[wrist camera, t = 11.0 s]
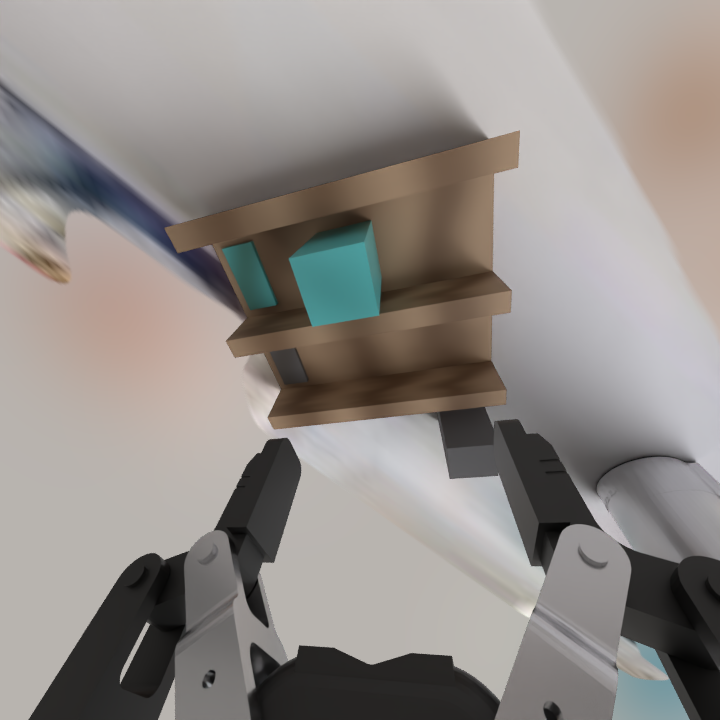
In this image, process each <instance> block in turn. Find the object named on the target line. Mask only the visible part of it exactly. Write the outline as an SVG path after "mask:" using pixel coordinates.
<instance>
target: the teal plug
mask: <svg viewBox="0 0 720 720" xmlns="http://www.w3.org/2000/svg"><path fill="white" fill-rule="evenodd" d="M289 261H290V264H291V267H292V270H293V273H294V276H295V278H296V281H297V284H298V287H299V290H300V293H301V296H302V299H303V301H304V304H305V307H306V310H307V313H308V316H309V319H310V322H311V325H312V327H315V326H321V325H327V324H333V323H338V322H344V321H350V320H356V319H362V318H368V317H373V316H379V312H380V296H381V279H382V276H381V270H380V265H379V259H378V254H377V249H376V243H375V238H374V232H373V227H372V222H371V220H370V221H365V222H361V223H357V224H353V225H348V226H344V227H340V228H336V229H331V230H327V231H323V232H319V233H316V234H315V235H314V236H313V237H312V238H311V239H309V240H308V241H307V242H306V243H305V244H304V245H303V246H302V247H301V248H300V249H299V250H297V251H296V252H295V253H294V254H293V255H292V256H291V257H290V258H289Z"/></svg>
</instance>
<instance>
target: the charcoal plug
mask: <svg viewBox="0 0 720 720" xmlns="http://www.w3.org/2000/svg"><path fill="white" fill-rule="evenodd" d="M438 421H439V426H440V431H441V436H442V441H443V446H444V451H445V457H446V462H447V467H448V472H449V477H450V479H455V478H470V477H486V476H498V469H497V466H496V463H495V458H494V449H493V448H494V429H493V427H492V424H491V422H490V419H489V417H488V414H487V412H486V409H485V407H478V408H469V409H459V410H450V411H441V412H438Z"/></svg>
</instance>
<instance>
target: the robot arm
mask: <svg viewBox="0 0 720 720" xmlns="http://www.w3.org/2000/svg"><path fill="white" fill-rule="evenodd" d="M493 449H494V458H495V463H496V466H497V469H498V472H499V475H500V478H501V481H502V484H503V486H504V489H505V492H506V495H507V498H508V501H509V504H510V507H511V509H512V512H513V515H514V518H515V521H516V524H517V527H518V530H519V532H520V535H521V538H522V541H523V544H524V547H525V550H526V553H527V555H528V558H529V561H530V564H531V566H542V567H543V569H544V572H545V575H546V577H545V580H544V583H543V586H542V589H541V592H540V595H539V598H538V600H537V603H536V606H535V608H534V610H533V612H532V614H531V617H530V620H529V622H528V625H527V628H526V631H525V634H524V637H523V640H522V643H521V645H520V648H519V651H518V654H517V657H516V660H515V663H514V666H513V668H512V671H511V674H510V677H509V680H508V683H507V685H506V688H505V691H504V694H503V697H502V700H501V702H500V701H499V699H498V698H497V697H496V696H495V695H494V694H493V693H492V692H491V691H490V690H489V689H488V688H487V687H486V686H485V685H484V684H482V683H481V682H480V681H479V680H477V679H476V678H475V677H473V676H472V675H470V674H468V673H467V672H465V671H464V670H461V669H459V668H457V667H455V666H454V664H453V659H452V656H444V655H430V654H416V653H410V654H407V655H404V656H401V657H398V658H394V659H391V660H387V661H384V662H381V663H378V664H374V665H370V664H366V663H365V662H362V661H360V660H358V659H356V658H354V657H352V656H350V655H348V654H346V653H343V652H341V651H339V650H337V649H335V648H329V647H314V646H299V649H298V654H297V657H295V658H294V659H292V660H290V661H288V659H287V656H286V653H285V650H284V648H283V645H282V643H281V641H280V639H279V637H278V635H277V633H276V631H275V628H274V624H273V620H272V617H271V612H270V608H269V605H268V601H267V597H266V593H265V589H264V585H263V582H262V578H261V575H260V573H259V571H260V568H261V565H262V562H271V563H272V562H273V563H274V561H275V557H276V554H277V551H278V548H279V544H280V541H281V538H282V535H283V531H284V528H285V525H286V522H287V519H288V515H289V512H290V509H291V506H292V502H293V499H294V496H295V493H296V489H297V486H298V483H299V480H300V476H301V464H300V461H299V459H298V457H297V455H296V453H295V451H294V449H293V447H292V444H291V442H290V441H289V439H288V438H281V439H270V440H268V441H267V442H266V444H265V446H264V449H263V451H262V452H261V453H257V454H256V455H255V456H254V458H253V459H252V460H251V461H250V462H249V463H248V464H247V466H246V468H245V470H244V472H243V474H242V478H241V479H240V480H239V482H238V484H237V488H236V489H235V490H234V492H233V494H232V496H231V498H230V500H229V502H228V504H227V506H226V508H225V510H224V512H223V514H222V516H221V518H220V520H219V522H218V524H217V526H216V528H215V529H214V531H212V532H209V533H207V534H205V535H204V536H202V537H201V538H200V539H199V540H198V541H197V542H196V543H195V544H194V545H193V546H192V547H191V549H190V551H188V552H185V553H182V554H179V555H177V556H174V557H171V558H169V559H166V560H163V559H162V558H161V557H160V556H159V555H157V554H155V553H150V554H146V555H144V556H142V557H140V558H138V559H137V560H135V561H134V562H133V563H132V564H130V566H128V567H127V568H126V569H125V571H124V572H123V573H122V574H121V576H120V577H119V578H118V580H117V582H116V583H115V585H114V586H113V588H112V589H111V591H110V593H109V594H108V596H107V597H106V599H105V600H104V602H103V604H102V605H101V607H100V608H99V610H98V611H97V613H96V615H95V616H94V618H93V619H92V621H91V622H90V624H89V626H88V627H87V629H86V630H85V632H84V633H83V635H82V637H81V638H80V640H79V642H78V643H77V644H76V646H75V648H74V649H73V651H72V652H71V654H70V655H69V657H68V659H67V660H66V662H65V663H64V665H63V667H62V668H61V670H60V671H59V673H58V674H57V676H56V677H55V679H54V681H53V682H52V684H51V685H50V687H49V688H48V690H47V692H46V693H45V695H44V696H43V698H42V700H41V701H40V703H39V704H38V706H37V707H36V709H35V710H34V712H33V713H32V715H31V717H30V718H29V720H158V718H159V715H160V713H161V710H162V708H163V705H164V703H165V700H166V698H167V695H168V693H169V690H170V688H171V685H172V683H173V680H174V678H175V720H612V716H613V709H614V703H615V697H616V691H617V682H618V668H617V666H616V658H617V651H618V645H619V639H620V635H621V636H623V637H626V638H628V639H631V640H633V641H636V642H638V643H641V644H644V645H646V646H649V647H651V648H654V649H655V650H656V652H657V654H658V656H659V658H660V660H661V662H662V664H663V666H664V668H665V670H666V672H667V674H668V676H669V678H670V680H671V682H672V685H673V686H674V689H675V690H676V693H677V694H678V697H679V699H680V701H681V703H682V705H683V707H684V708H685V711H686V713H687V715H688V717H689V719H690V720H720V484H719V483H718V482H717V481H716V480H715V479H714V478H713V477H712V476H711V475H710V474H709V473H708V472H707V471H706V470H705V469H704V468H703V467H702V466H701V465H700V464H699V463H686V462H683V461H681V460H679V459H675V458H670V457H649V458H643V459H638V460H634V461H630V462H627V463H625V464H622V465H620V466H618V467H616V468H614V469H612V470H611V471H609V472H608V473H607V474H605V475H604V476H603V477H602V478H601V479H600V481H599V483H598V485H597V493H598V495H599V497H600V498H601V500H602V501H603V503H604V504H605V506H606V508H607V510H608V511H609V512H610V514H611V515H612V517H613V518H614V520H615V522H616V523H617V525H618V526H619V528H620V530H621V531H622V533H623V534H624V536H625V537H626V539H627V541H628V542H629V544H630V545H631V547H632V548H633V550H632V549H630V548H627V547H625V546H624V545H622V544H620V543H618V542H617V541H616V540H615V539H613V538H612V537H611V536H610V535H608V534H607V533H605V532H604V531H603V530H602V529H601V528H600V526H599V525H598V524H597V523H596V521H595V520H594V518H593V516H592V514H591V513H590V511H589V509H588V508H587V506H586V504H585V502H584V501H583V499H582V497H581V495H580V494H579V492H578V490H577V488H576V487H575V485H574V483H573V482H572V480H571V478H570V476H569V475H568V474H567V472H566V469H565V468H564V466H563V464H562V462H560V460H559V457H558V456H557V454H556V452H555V450H554V449H553V447H552V445H551V444H550V443H549V442H547V441H546V440H545V439H544V438H543V437H541V436H540V435H539V434H538V433H536V434H526V433H525V431H524V429H523V427H522V425H521V423H520V421H519V420H518V419H515V420H503V421H495V422H494V448H493ZM146 622H147V623H149V624H150V626H149V628H148V630H147V632H146V634H145V636H144V638H143V640H142V642H141V644H140V646H139V648H138V650H137V652H136V654H135V656H134V658H133V660H132V662H131V664H130V666H129V668H128V670H127V672H126V674H125V676H124V678H123V680H122V682H121V684H120V675H121V672H122V669H123V667H124V664H125V663H126V661H127V659H128V657H129V654H130V653H131V651H132V649H133V647H134V645H135V643H136V641H137V639H138V637H139V635H140V633H141V631H142V629H143V627H144V625H145V623H146Z"/></svg>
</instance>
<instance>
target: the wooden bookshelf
mask: <svg viewBox="0 0 720 720" xmlns="http://www.w3.org/2000/svg"><path fill="white" fill-rule="evenodd" d="M519 138H520V131H516V132H513V133H509V134H505V135H502V136H498V137H494V138H491V139H487V140H483V141H480V142H476V143H472V144H469V145H465V146H461V147H458V148H454V149H450V150H447V151H443V152H440V153H436V154H432V155H429V156H425V157H421V158H418V159H414V160H410V161H407V162H403V163H399V164H396V165H392V166H388V167H385V168H381V169H377V170H374V171H370V172H366V173H363V174H359V175H355V176H352V177H348V178H345V179H341V180H337V181H334V182H330V183H326V184H323V185H319V186H315V187H312V188H308V189H304V190H301V191H297V192H293V193H290V194H286V195H282V196H279V197H275V198H271V199H268V200H264V201H261V202H257V203H253V204H250V205H246V206H242V207H239V208H235V209H231V210H228V211H224V212H220V213H217V214H213V215H209V216H206V217H202V218H198V219H195V220H191V221H187V222H184V223H180V224H176V225H173V226H169V227H166V228H164V229H165V230H166V232H167V234H168V236H169V238H170V240H171V241H172V243H173V245H174V247H175V249H176V251H177V252H178V253H180V252H184V251H188V250H192V249H196V248H200V247H204V246H208V245H213V247H214V249H215V251H216V253H217V255H218V258H219V260H220V262H221V264H222V266H223V268H224V270H225V272H226V274H227V276H228V279H229V281H230V283H231V285H232V287H233V289H234V291H235V293H236V295H237V297H238V299H239V302H240V304H241V306H242V308H243V310H244V312H245V314H246V316H247V319H246V320H245V321H244V322H243V323H242V324H241V325H240V326H239V328H238V329H237V330H236V331H235V332H234V333H233V334H232V335H231V336H230V337H229V338H228V339H227V340H226V342H227V344H228V346H229V348H230V350H231V352H232V353H233V355H234V357H235V358H236V357H241V356H248V355H254V354H260V353H264V354H265V356H266V358H267V360H268V362H269V365H270V367H271V369H272V371H273V373H274V375H275V377H276V379H277V381H278V383H279V386H280V388H281V391H280V393H279V395H278V397H277V399H276V401H275V403H274V406H273V408H272V410H271V412H270V414H269V416H268V419H269V421H270V423H271V425H272V427H273V429H283V428H292V427H301V426H311V425H320V424H329V423H339V422H348V421H357V420H366V419H376V418H385V417H394V416H404V415H413V414H422V413H431V412H441V411H450V410H459V409H469V408H478V407H487V406H496V405H506V392H507V390H506V388H505V386H504V384H503V382H502V380H501V378H500V376H499V375H498V373H497V371H496V369H495V367H494V365H493V363H492V361H491V340H492V315H498V314H504V313H510V312H511V294H512V290H511V289H510V288H509V287H508V286H507V285H506V284H505V283H504V282H503V281H502V280H501V279H500V278H499V277H498V276H497V275H496V274H495V273H494V272H493V271H492V269H493V198H494V173H498V172H502V171H506V170H510V169H514V168H518V158H519ZM370 220H371V222H372V227H373V232H374V238H375V243H376V249H377V254H378V259H379V265H380V270H381V276H382V279H381V296H380V312H379V316H373V317H368V318H362V319H356V320H350V321H344V322H338V323H333V324H327V325H321V326H315V327H312V325H311V322H310V319H309V316H308V313H307V310H306V307H305V304H304V301H303V299H302V296H301V293H300V290H299V287H298V284H297V281H296V278H295V276H294V273H293V270H292V267H291V264H290V261H289V258H290V257H291V256H292V255H293V254H294V253H295V252H296V251H297V250H299V249H300V248H301V247H302V246H303V245H304V244H305V243H306V242H307V241H308V240H309V239H311V238H312V237H313V236H314V235H315V234H316V233H319V232H323V231H327V230H331V229H336V228H340V227H344V226H348V225H353V224H357V223H361V222H365V221H370Z"/></svg>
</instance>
